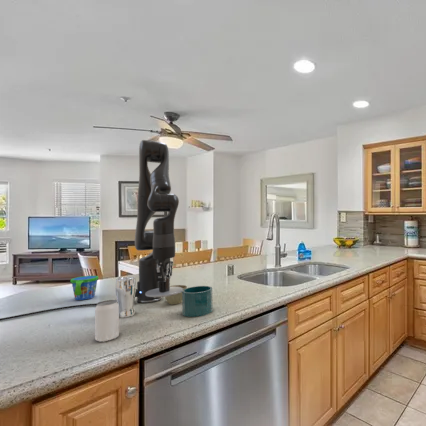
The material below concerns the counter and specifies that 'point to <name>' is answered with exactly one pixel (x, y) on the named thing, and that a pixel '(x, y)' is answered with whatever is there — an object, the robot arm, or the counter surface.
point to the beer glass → (126, 296)
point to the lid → (168, 291)
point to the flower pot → (175, 296)
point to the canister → (197, 301)
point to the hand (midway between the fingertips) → (164, 290)
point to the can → (106, 320)
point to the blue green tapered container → (84, 287)
